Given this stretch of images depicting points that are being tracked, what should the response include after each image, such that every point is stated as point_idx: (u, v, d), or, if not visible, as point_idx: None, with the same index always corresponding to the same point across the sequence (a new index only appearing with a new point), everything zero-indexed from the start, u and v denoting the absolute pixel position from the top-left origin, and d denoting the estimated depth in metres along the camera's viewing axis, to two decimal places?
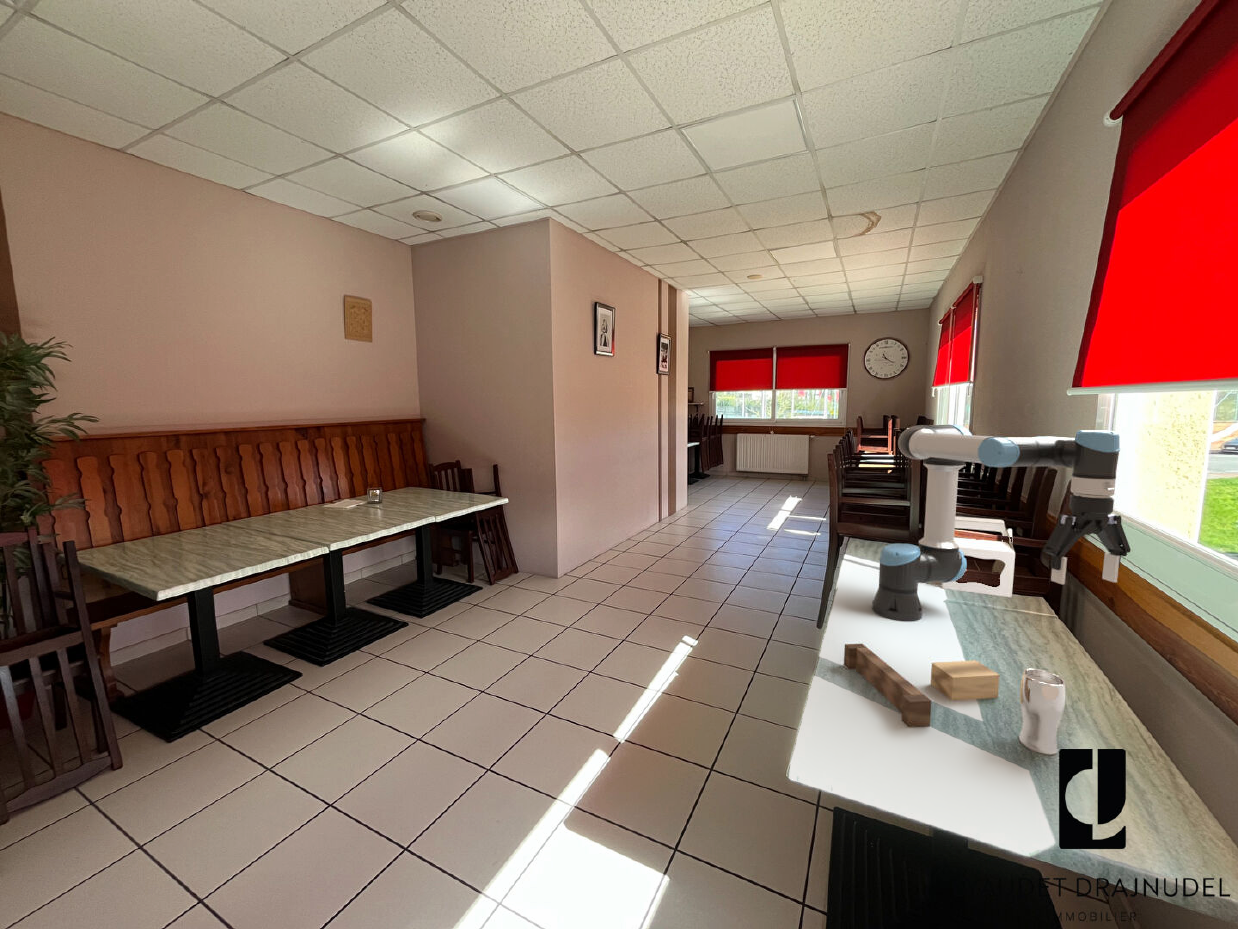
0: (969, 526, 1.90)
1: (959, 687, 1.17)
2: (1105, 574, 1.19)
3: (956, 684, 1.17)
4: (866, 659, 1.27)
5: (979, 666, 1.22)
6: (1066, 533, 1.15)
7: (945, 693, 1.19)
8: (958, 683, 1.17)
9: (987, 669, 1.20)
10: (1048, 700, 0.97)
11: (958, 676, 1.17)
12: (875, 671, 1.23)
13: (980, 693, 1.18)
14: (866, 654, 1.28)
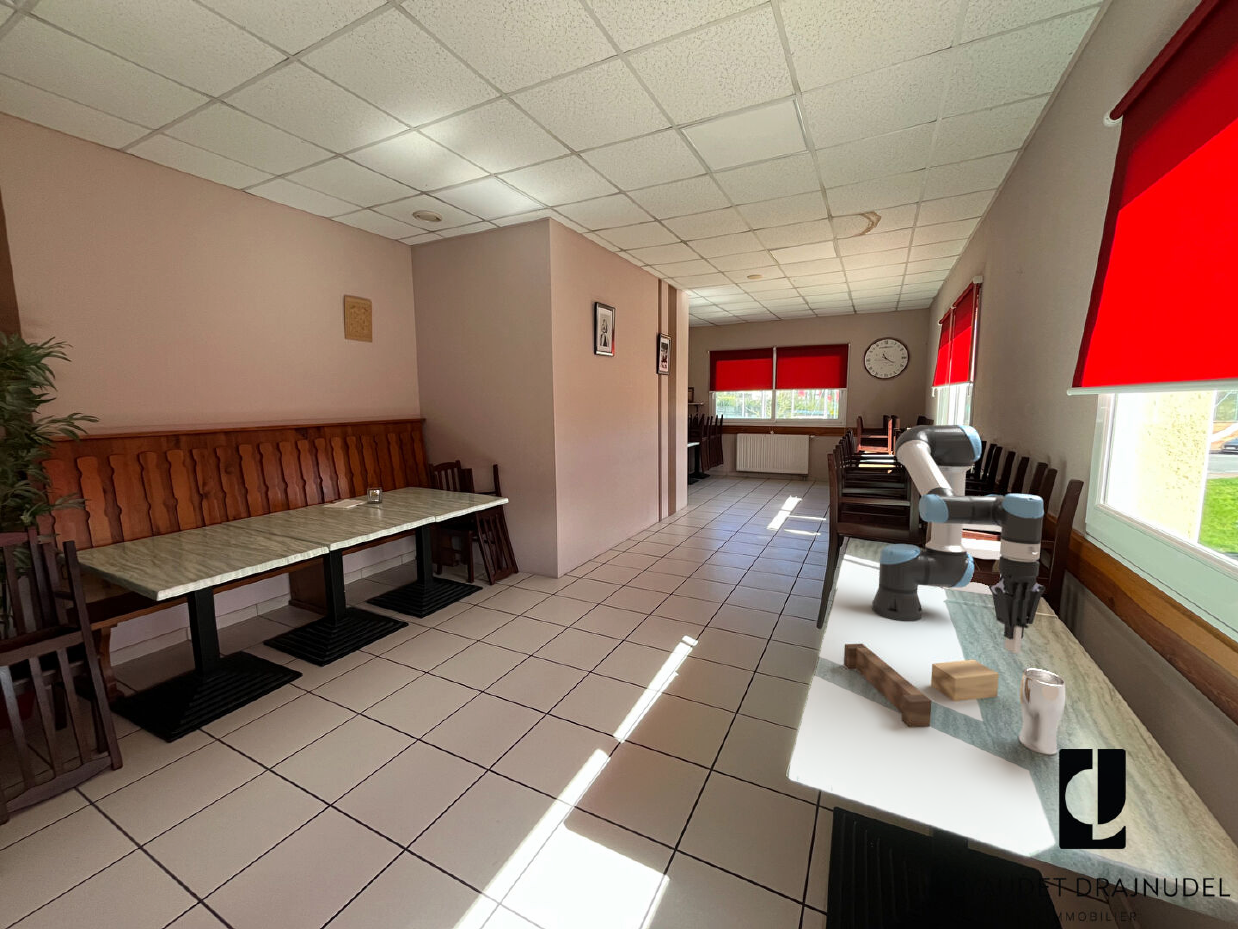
0: (969, 526, 1.90)
1: (961, 688, 1.17)
2: None
3: (958, 685, 1.17)
4: (866, 659, 1.27)
5: (978, 665, 1.22)
6: (1004, 602, 1.18)
7: (947, 694, 1.19)
8: (961, 684, 1.17)
9: (986, 668, 1.21)
10: (1048, 700, 0.97)
11: (960, 677, 1.17)
12: (875, 671, 1.23)
13: (980, 693, 1.18)
14: (866, 654, 1.28)
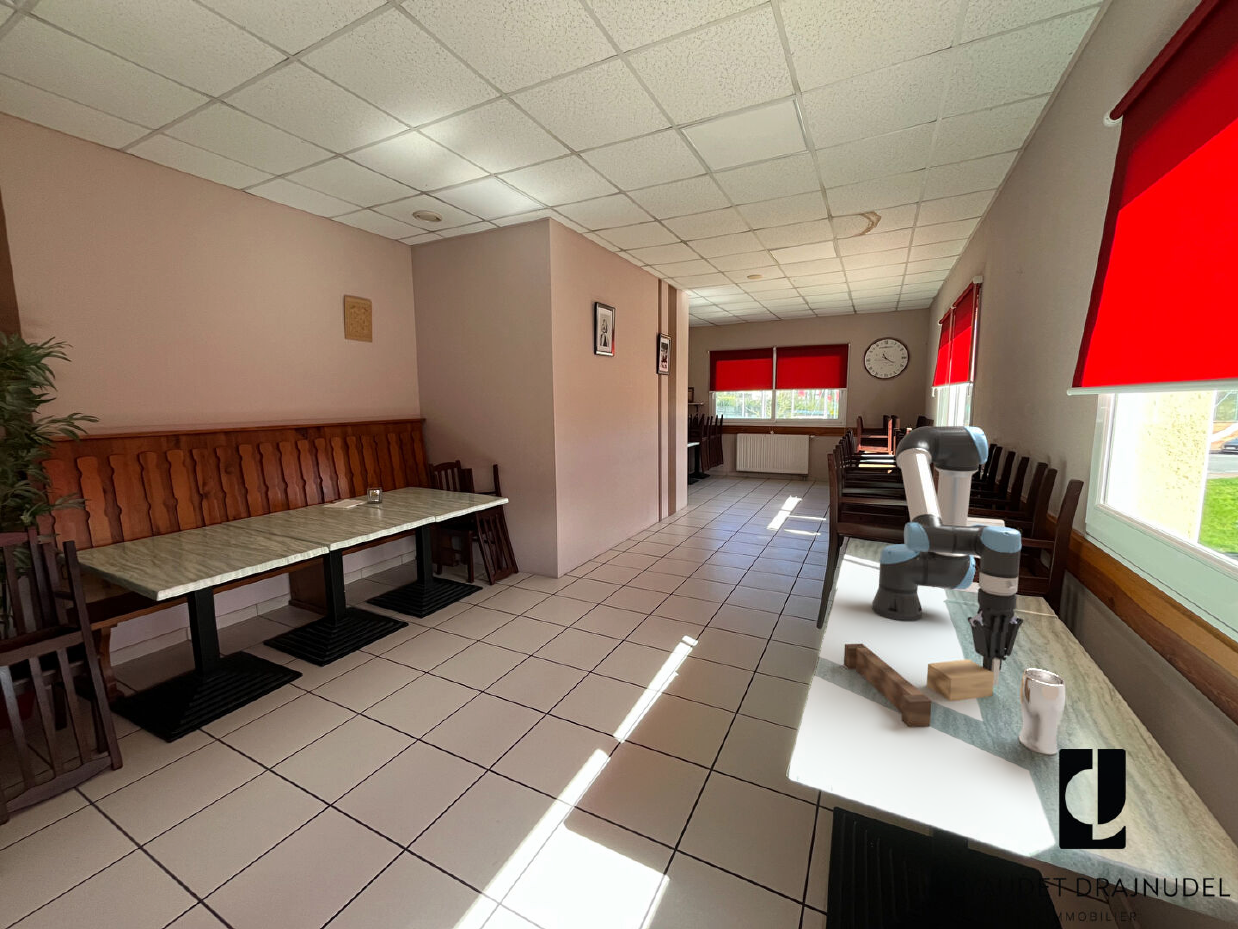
0: None
1: (957, 688, 1.17)
2: None
3: (954, 685, 1.17)
4: (866, 659, 1.27)
5: (973, 665, 1.22)
6: (982, 635, 1.19)
7: (943, 694, 1.19)
8: (956, 684, 1.17)
9: (981, 668, 1.21)
10: (1048, 700, 0.97)
11: (956, 676, 1.17)
12: (875, 671, 1.23)
13: (976, 693, 1.18)
14: (866, 654, 1.28)
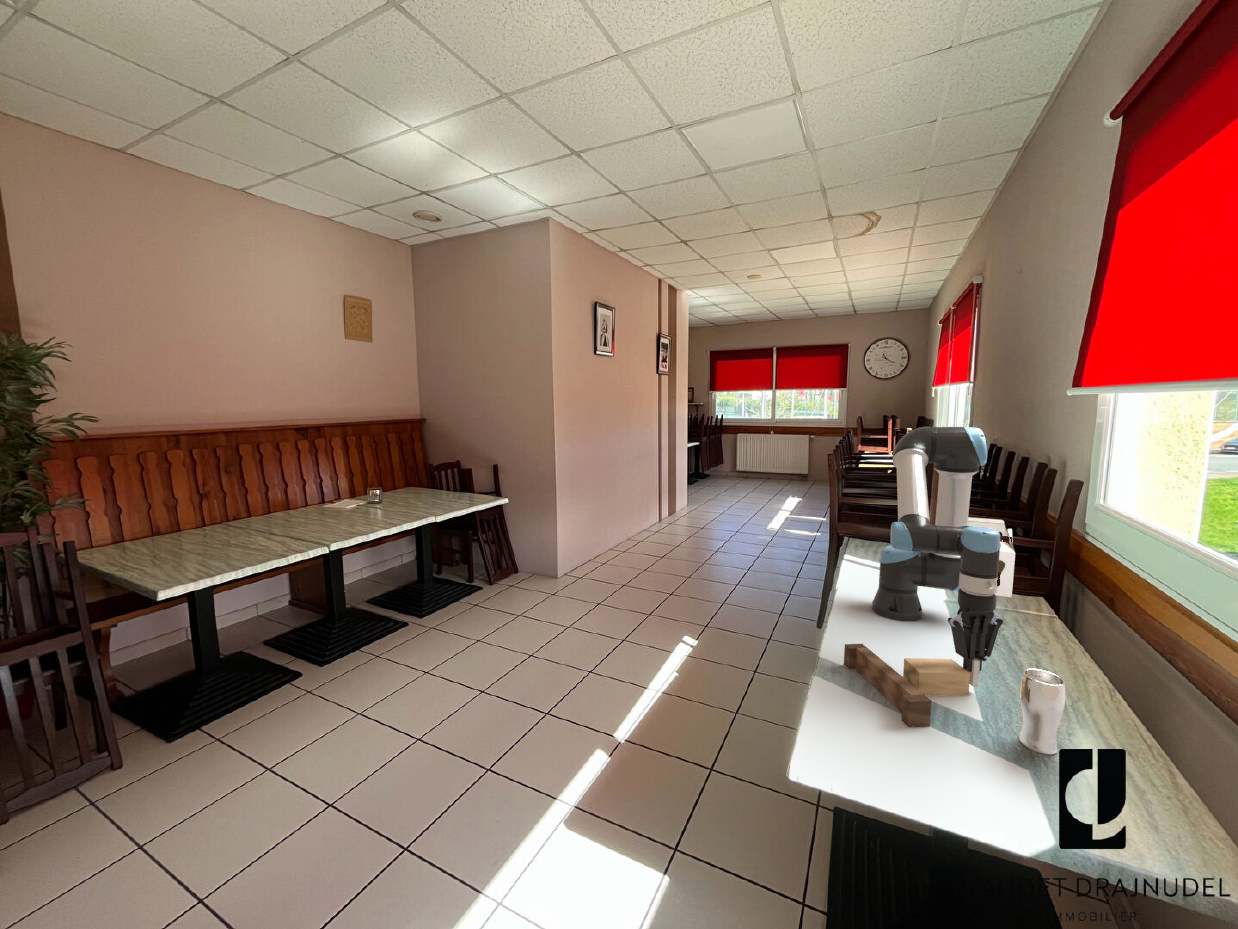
0: None
1: (926, 682, 1.19)
2: None
3: (923, 679, 1.19)
4: (866, 659, 1.27)
5: (952, 664, 1.23)
6: (962, 636, 1.18)
7: None
8: (926, 679, 1.19)
9: (959, 667, 1.21)
10: (1048, 700, 0.97)
11: (925, 671, 1.19)
12: (875, 671, 1.23)
13: (948, 690, 1.19)
14: (866, 654, 1.28)
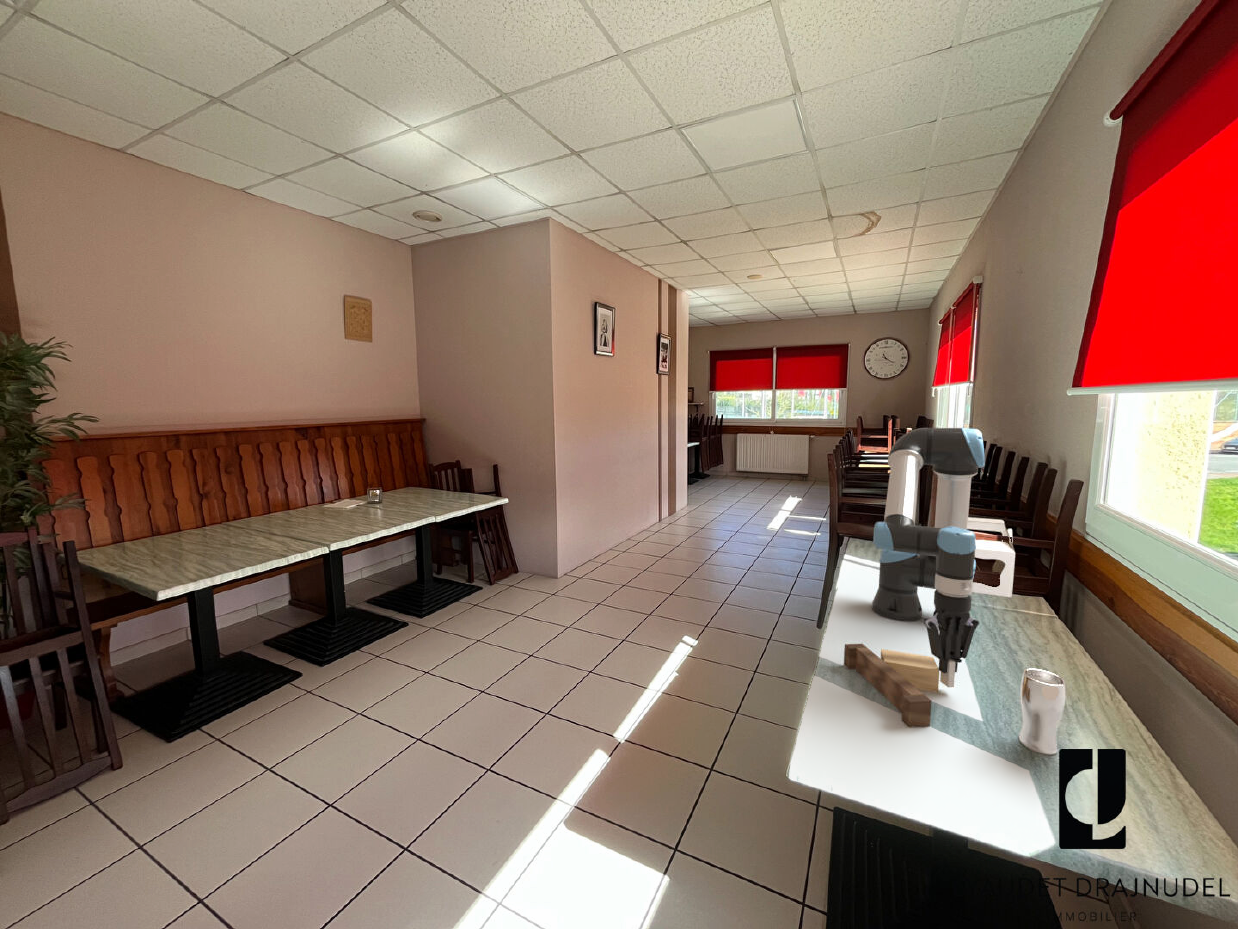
0: (969, 526, 1.90)
1: None
2: None
3: None
4: (866, 659, 1.27)
5: (928, 661, 1.24)
6: (937, 637, 1.18)
7: None
8: None
9: (933, 664, 1.23)
10: (1048, 700, 0.97)
11: (891, 661, 1.24)
12: (875, 671, 1.23)
13: (916, 684, 1.22)
14: (866, 654, 1.28)
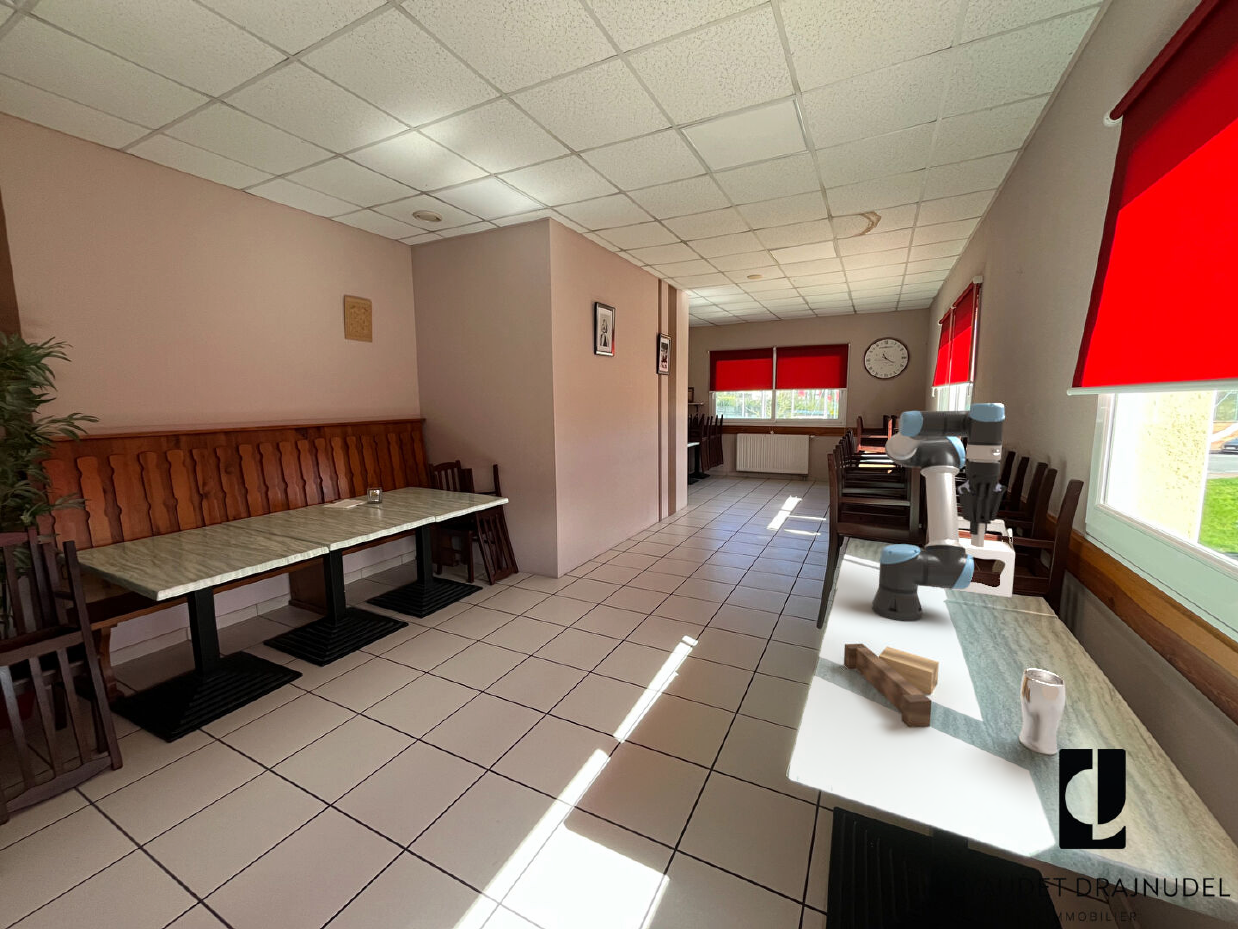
0: (969, 526, 1.90)
1: None
2: None
3: None
4: (866, 659, 1.27)
5: (929, 664, 1.23)
6: (969, 500, 1.31)
7: None
8: None
9: (931, 667, 1.21)
10: (1048, 700, 0.97)
11: (886, 657, 1.26)
12: (875, 671, 1.23)
13: None
14: (866, 654, 1.28)
